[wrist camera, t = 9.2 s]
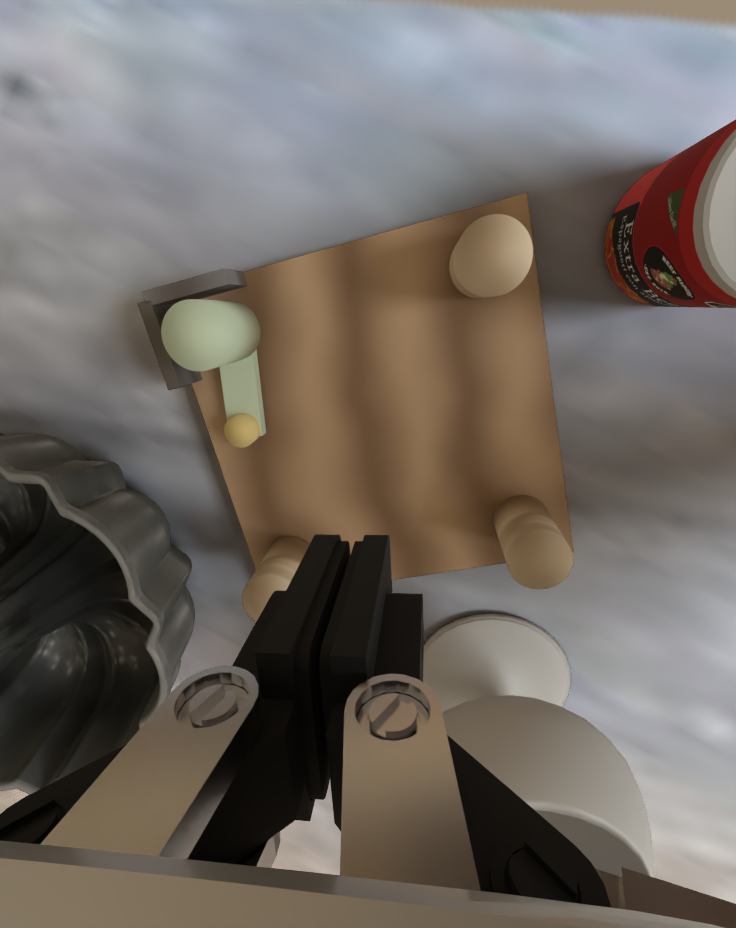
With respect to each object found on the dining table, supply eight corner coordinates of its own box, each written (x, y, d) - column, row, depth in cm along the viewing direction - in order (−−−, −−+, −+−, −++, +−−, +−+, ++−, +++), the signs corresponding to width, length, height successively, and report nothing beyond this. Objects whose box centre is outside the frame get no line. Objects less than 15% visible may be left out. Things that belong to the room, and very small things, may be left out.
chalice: (536, 572, 35) (613, 752, 21) (610, 711, 38) (721, 951, 24) (370, 640, 38) (340, 835, 24) (450, 763, 42) (465, 1000, 27)
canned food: (572, 231, 28) (661, 188, 18) (703, 123, 26) (893, 1, 15) (644, 335, 29) (766, 352, 19) (775, 241, 27) (993, 202, 17)
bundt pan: (-142, 502, 40) (-317, 563, 30) (79, 328, 33) (-58, 337, 24) (68, 728, 45) (-25, 839, 36) (293, 618, 39) (252, 720, 29)
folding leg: (276, 439, 32) (246, 468, 26) (225, 440, 32) (184, 469, 26) (261, 298, 29) (223, 297, 23) (205, 301, 29) (155, 301, 24)
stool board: (519, 200, 28) (552, 164, 21) (565, 538, 34) (602, 600, 27) (177, 295, 32) (106, 293, 25) (273, 584, 38) (239, 649, 31)
